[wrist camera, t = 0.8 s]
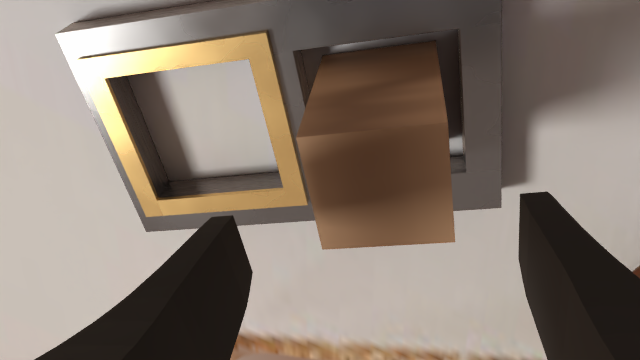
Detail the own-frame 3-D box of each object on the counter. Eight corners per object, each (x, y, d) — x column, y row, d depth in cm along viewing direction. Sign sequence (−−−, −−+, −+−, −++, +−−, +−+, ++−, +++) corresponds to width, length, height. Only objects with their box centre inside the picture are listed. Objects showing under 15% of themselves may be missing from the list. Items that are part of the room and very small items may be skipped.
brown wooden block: (435, 40, 19) (447, 122, 14) (442, 140, 21) (455, 242, 16) (322, 55, 19) (295, 137, 14) (340, 149, 22) (322, 249, 17)
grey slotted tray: (495, -45, 17) (502, -35, 16) (496, 189, 22) (502, 210, 20) (72, 23, 20) (52, 36, 19) (156, 215, 25) (144, 234, 24)
